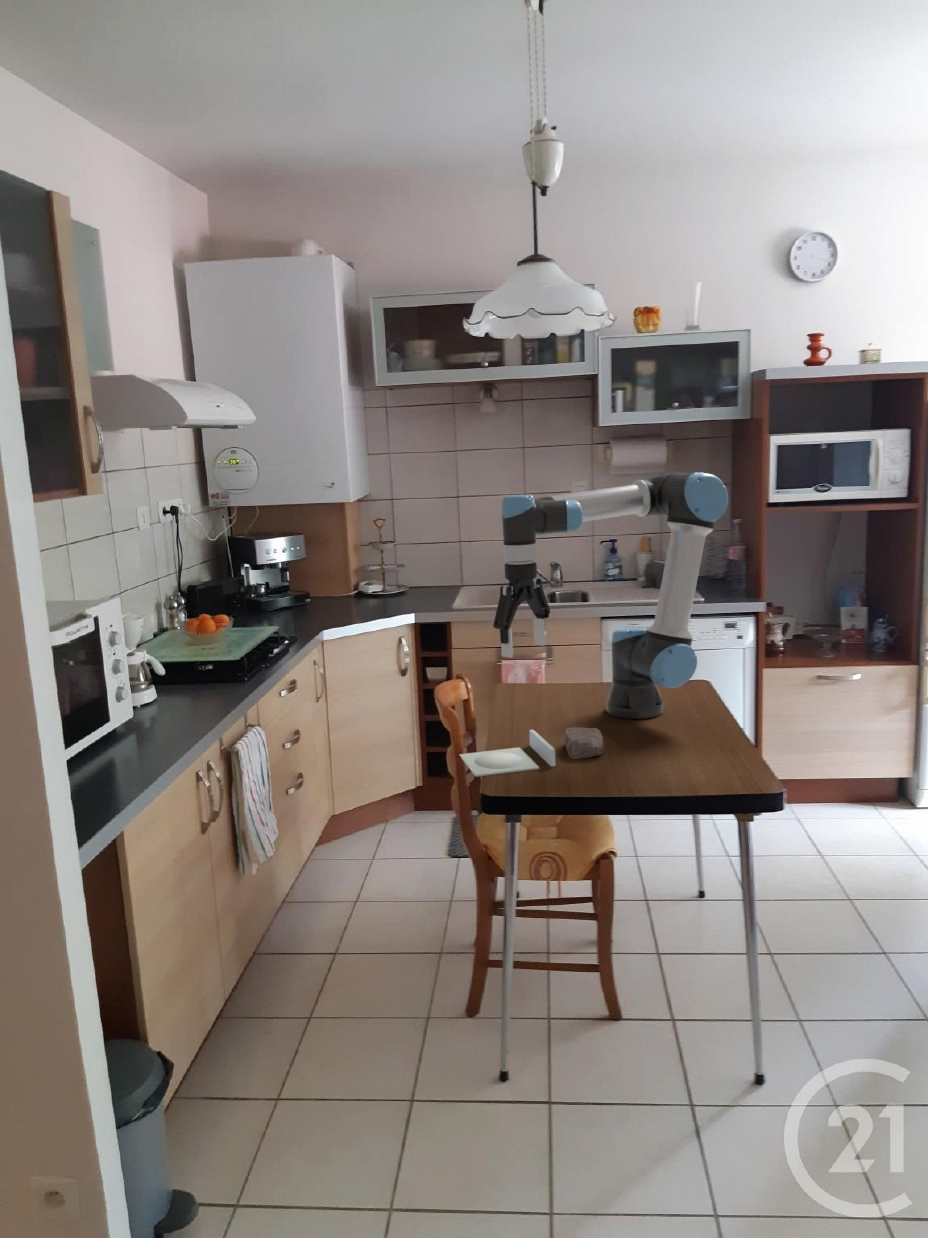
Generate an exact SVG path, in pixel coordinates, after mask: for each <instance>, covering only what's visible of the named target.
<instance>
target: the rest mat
mask: <svg viewBox="0 0 928 1238" xmlns="http://www.w3.org/2000/svg"><path fill="white" fill-rule="evenodd" d="M459 758H461V760H462V761H463V762H464V764H465V766H466V767H467V768H468V769H469V770H470V772H471V773H472V774H473V776H474V777H475V778H476V777H485V776H491V775H493V776H494V775H500V774H509V773H516V772H517V773H518V772H523V771H533V770H534V771H535V770H540V766H539V765H537V763H536V762H535V761H534V760H533V759H532V758H531V757H530V756H529V754H527V753H526V752H525V751H524V750H523V749H522V748H521V747H511V748H503V749H495V750H487V751H486V750H484V751H477V752H467V753H461V754H459Z"/></svg>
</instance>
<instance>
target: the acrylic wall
mask: <svg viewBox="0 0 928 1238" xmlns="http://www.w3.org/2000/svg"><path fill="white" fill-rule="evenodd" d="M528 731H529V732H528V733H529V747H530V748H531V749H533V751H534V752H536V753H537V754H538V756H540V758H542V760H544V761H545V762H546V763H547V764H548V766H550V767H556V749H555V748H554V747H553V746H552V744H550V743H549V742H548V741H547V740H545V738H543V737H542V736H541V735H540V734H539V733H538V732H537V731H536V730H534V729H529V730H528Z"/></svg>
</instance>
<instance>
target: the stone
mask: <svg viewBox="0 0 928 1238" xmlns="http://www.w3.org/2000/svg"><path fill="white" fill-rule="evenodd" d="M564 735H565V736H564V744H565V747H566V751H567V754H568V756H569V758H570V759H583V758H585V759H586V758H587V759H588V758H592V757H594V756H595V757H597V756H600V755H603V751H604V746H605V745H604V739H603V738H604V736H602V732H601V730H600V729H598V728H596V727H593V728H588V727H576V726H575V727H566V728H565V733H564Z"/></svg>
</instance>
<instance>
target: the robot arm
mask: <svg viewBox="0 0 928 1238" xmlns="http://www.w3.org/2000/svg"><path fill="white" fill-rule="evenodd" d="M501 503H502V504H501V520H502V534H503V535H502V536H503V538H502V540H503V556H504V557H503V558H504V559H503V560H504V561H505V564H504V566H503V567H504V578H505V580H507V581H508V582H509V583H508V586H505V585H501V586H500V588H499V599H498V603H497V608H496V612H495V616H494V622H493V628H494V629H496V630H499V633H500V634H499V635H500V646H501V657H504V658H514V649H513V648H514V645H513V642H514V641H513V629H511V626H512V622H513V621H514V617H515V615H516V612H517V610H518V607H519V606H520V605H521V604H522V603H524V602H526V603H527V605H528V607H529V608H530V610H531V612H532V613H533V615H534V616H535V617H534V618H533V638H534V639H533V641H534V645H535V646H543V647H544V646H546V619H548V618H549V617H550V613H551V609H550V606H549V604H548V600H547V596H546V594H545V591H544V588H543V583H542V578H537V576H538V569H537V568H538V567H537V566H538V565H537V563H536V562H535V561H536V560H537V541H536V540H537V539H536V536H538V535H546V534H549V535H550V534H560V533H565V534H567V533H569V532H575V531H578V530H579V529H580V528H581V527H582V525H583V522H589V521H597V520H604V519H609V518H611V519H612V518H616V517H617V518H618V517H622V516H623V517H624V516H630V515H635V516H637V517H640V518H641V517H642V518H643V517H653V516H654V517H664V518H666V524H667V526H668V528H669V529H670V537H669V540H668V541H669V542H668V546H667V547H668V548H667V553H666V557H665V563H664V567H663V572H662V573H663V574H662V578H661V579H662V580H661V583H660V589H659V594H658V595H659V596H658V599H657V606H656V611H655V615H654V616H655V617H654V620H653V624H652V625H650V626H633V627H623V628H619V629H616V630H614V631H613V632H612V636H611V659H612V661H611V663H612V665H611V668H612V670H611V672H612V673H611V674H612V684H611V688H610V691H609V693H608V697H607V699H606V705H605V706H606V707H605V708H606V709H605V711H606V713H607V714H608V715H611V716H612V717H616V718H621V719H632V720H633V719H634V720H635V719H636V720H639V719H642V720H643V719H649V718H654V717H657V716H660V715H662V713H664V703H663V700H662V697H661V694H660V691H659V689H658V688H659V687H665V688H669V689H672V688H673V689H675V688H679V687H681V686H684V685H685V684H686V683H687V682H689V681H690V680H691V679H692V678H693V676H694V674H695V672H696V670H697V667H698V657H697V654H696V653H695V650H694V649H693V647H692V642H693V635H692V633H690V631H689V626H690V620H691V614H692V611H693V605H694V600H695V594H696V589H697V583H698V578H699V574H700V573H699V572H700V567H701V563H702V558H703V553H704V552H703V551H704V546H705V543H706V537H707V535H709V534H710V533H711V532H713V531H714V528H715V527H714V526H715V523H716V521H717V520H719V519H720V518H721V517H722V516H723V515H724V514H725V513H726V511H727V508H728V506H729V493H728V490H727V487H726V486H725V484H724V482H723V481H722V479H720V478H719V477H718V476H716V475H714V474H710V473H705V472H698V471H697V472H670V473H665V474H661V475H656V476H652V477H647V478H641V479H636V480H634V481H633V482H632V483H631V484H630V485H620V486H614V487H607V488H601V489H594V490H585V491H578V492H572V493H564V494H557V495H549V496H544V497H538V498H535V497H534V496H533V494H532V495H531V494H516V495H515V494H513V495H512V494H511V495H507V496H505V497H503V498H502V501H501ZM658 686H659V687H658Z"/></svg>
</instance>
